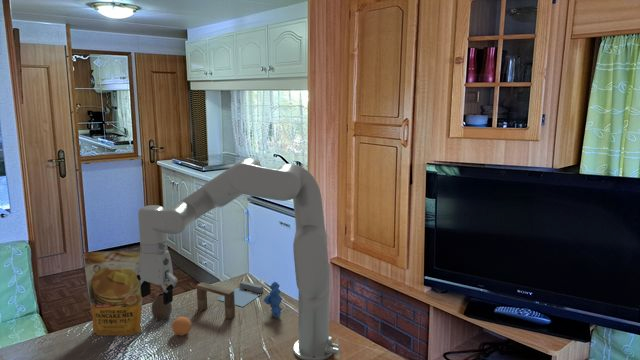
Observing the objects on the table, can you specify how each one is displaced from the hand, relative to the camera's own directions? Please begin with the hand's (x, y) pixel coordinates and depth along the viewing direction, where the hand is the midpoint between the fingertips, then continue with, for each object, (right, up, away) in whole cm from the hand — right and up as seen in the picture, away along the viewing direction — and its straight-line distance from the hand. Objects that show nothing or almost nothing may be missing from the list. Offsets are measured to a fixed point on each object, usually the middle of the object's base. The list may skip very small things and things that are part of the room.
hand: (157, 299), depth 140 cm
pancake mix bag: (-18, -14, +13) cm, 26 cm away
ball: (+4, -12, +11) cm, 16 cm away
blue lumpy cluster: (+33, -12, +25) cm, 43 cm away
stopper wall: (+22, -8, +45) cm, 51 cm away
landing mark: (+19, -9, +38) cm, 44 cm away
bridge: (+12, -12, +26) cm, 31 cm away
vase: (-6, -13, +22) cm, 26 cm away
